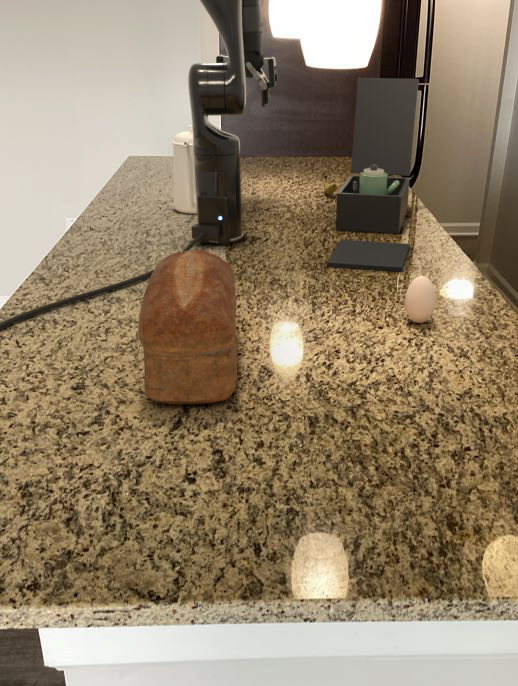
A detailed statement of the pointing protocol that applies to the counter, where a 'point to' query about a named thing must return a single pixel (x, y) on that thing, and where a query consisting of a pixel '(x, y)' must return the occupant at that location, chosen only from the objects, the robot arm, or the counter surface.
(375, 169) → the kettle
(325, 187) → the banana
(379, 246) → the mat
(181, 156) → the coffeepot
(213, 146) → the robot arm
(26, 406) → the counter surface
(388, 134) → the storage bin lid
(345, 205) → the dark gray storage bin
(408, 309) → the egg
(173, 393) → the bread
